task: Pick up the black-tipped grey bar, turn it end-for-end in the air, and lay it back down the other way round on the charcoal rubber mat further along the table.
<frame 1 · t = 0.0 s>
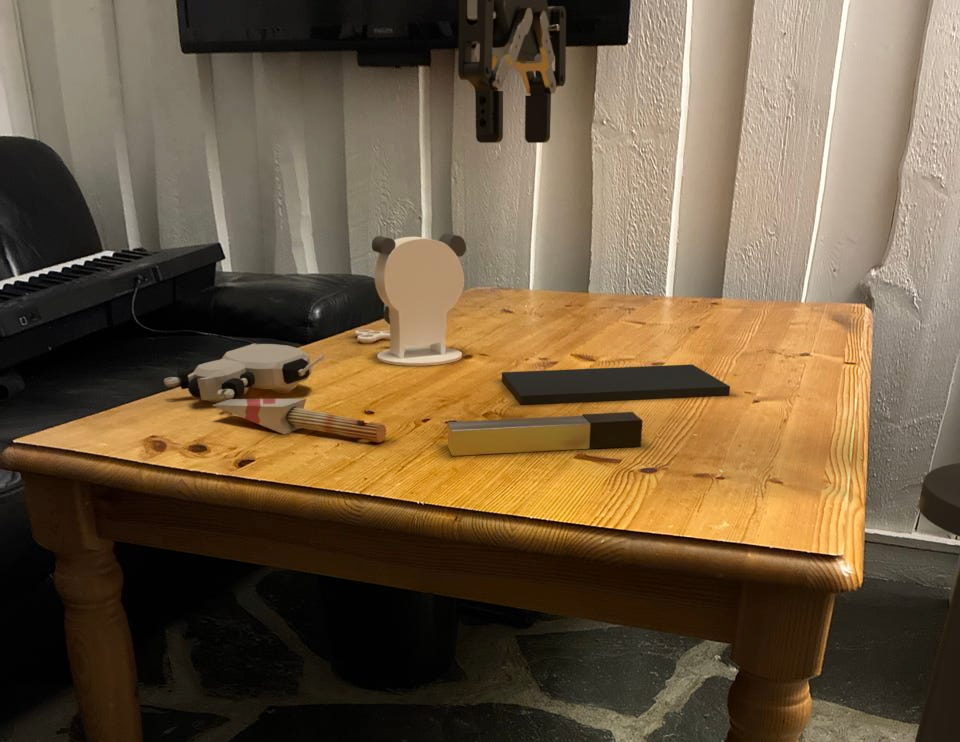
hand: (514, 142, 81), 25 cm above the table, tool pointing down, fingers open, 8 cm apart
robot toy: (247, 397, 107), on the table
fidget spinner: (378, 339, 137), on the table
panda figurine: (422, 358, 126), on the table
black-tipped grey bar: (544, 446, 89), on the table
mat: (611, 387, 109), on the table
paintbrush: (298, 432, 94), on the table
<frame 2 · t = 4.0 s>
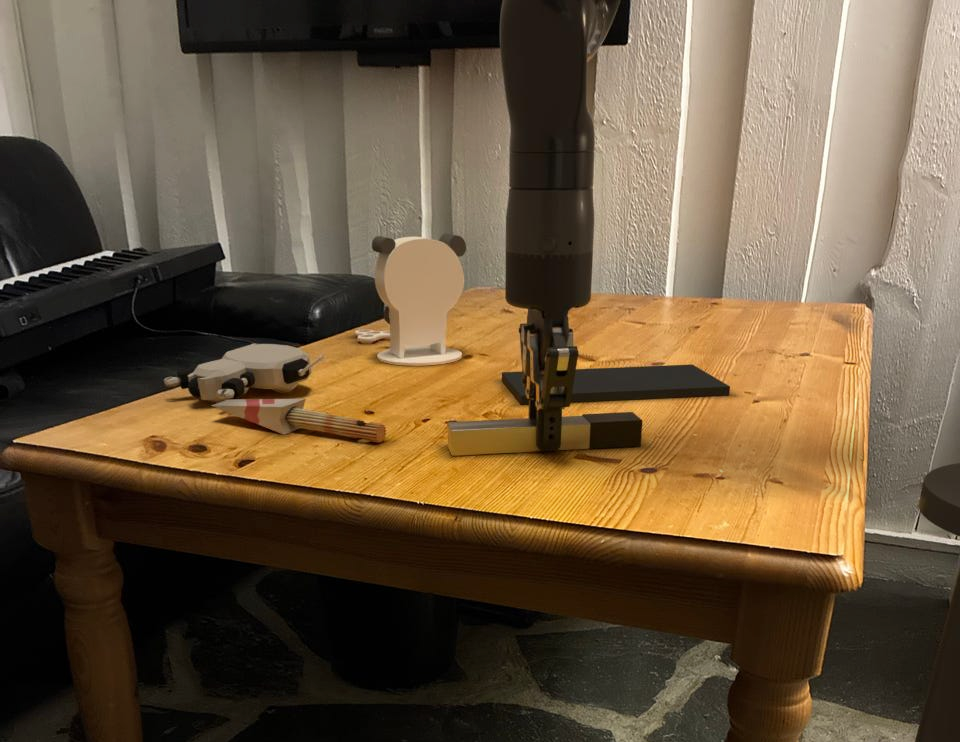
hand: (544, 442, 88), 0 cm above the table, tool pointing down, fingers closed on black-tipped grey bar, 3 cm apart
black-tipped grey bar: (544, 446, 89), on the table, touching gripper
everything else where it was.
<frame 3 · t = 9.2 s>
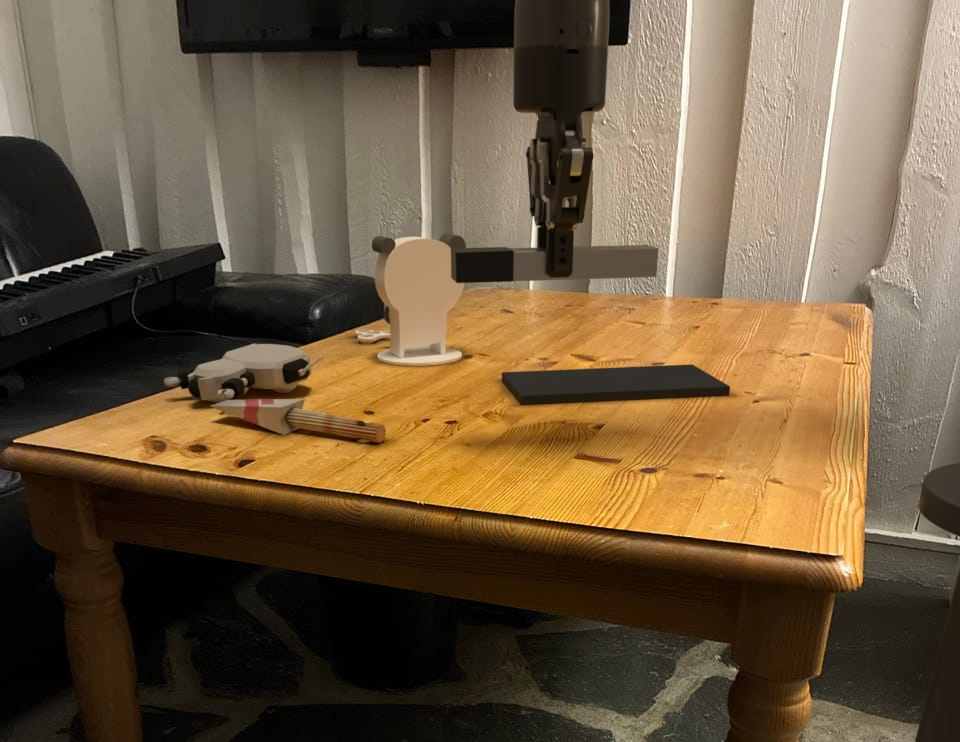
hand: (554, 273, 83), 15 cm above the table, tool pointing down, fingers closed on black-tipped grey bar, 3 cm apart
black-tipped grey bar: (554, 277, 83), point 15 cm above the table, touching gripper
everything else where it was.
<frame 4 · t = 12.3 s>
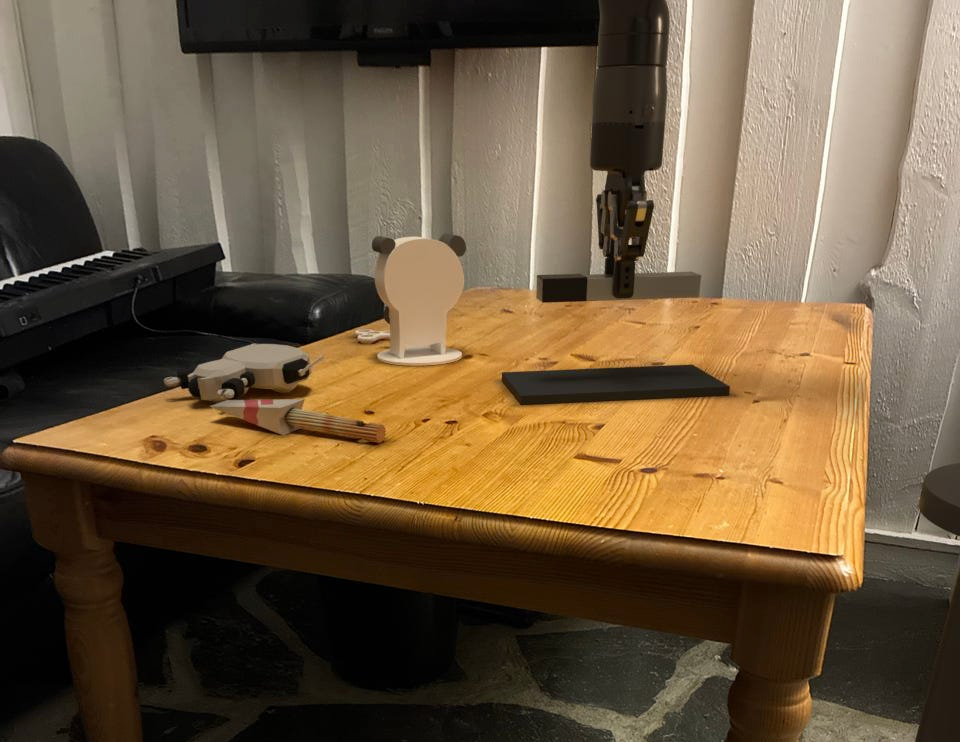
hand: (618, 294, 105), 10 cm above the table, tool pointing down, fingers closed on black-tipped grey bar, 3 cm apart
black-tipped grey bar: (617, 298, 105), point 10 cm above the table, touching gripper
everything else where it was.
when the fingers open (1 cm above the table, at t = 14.6 s): black-tipped grey bar stays where it is, resting on mat.
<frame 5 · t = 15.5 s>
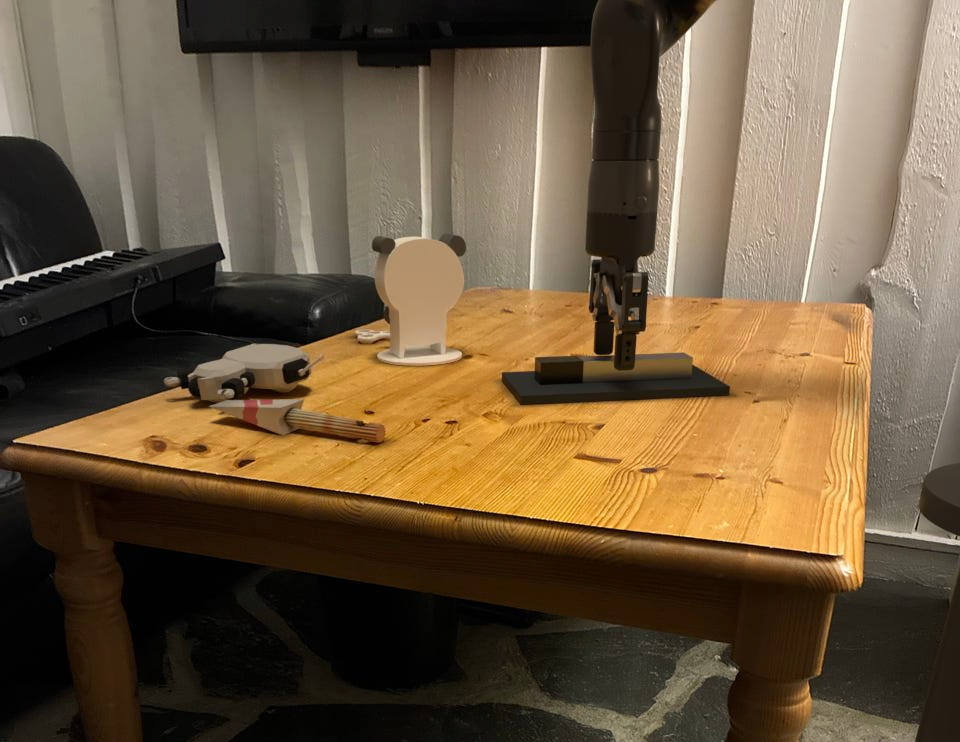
hand: (613, 361, 108), 3 cm above the table, tool pointing down, fingers open, 8 cm apart
black-tipped grey bar: (612, 378, 109), point 1 cm above the table, touching mat
everything else where it was.
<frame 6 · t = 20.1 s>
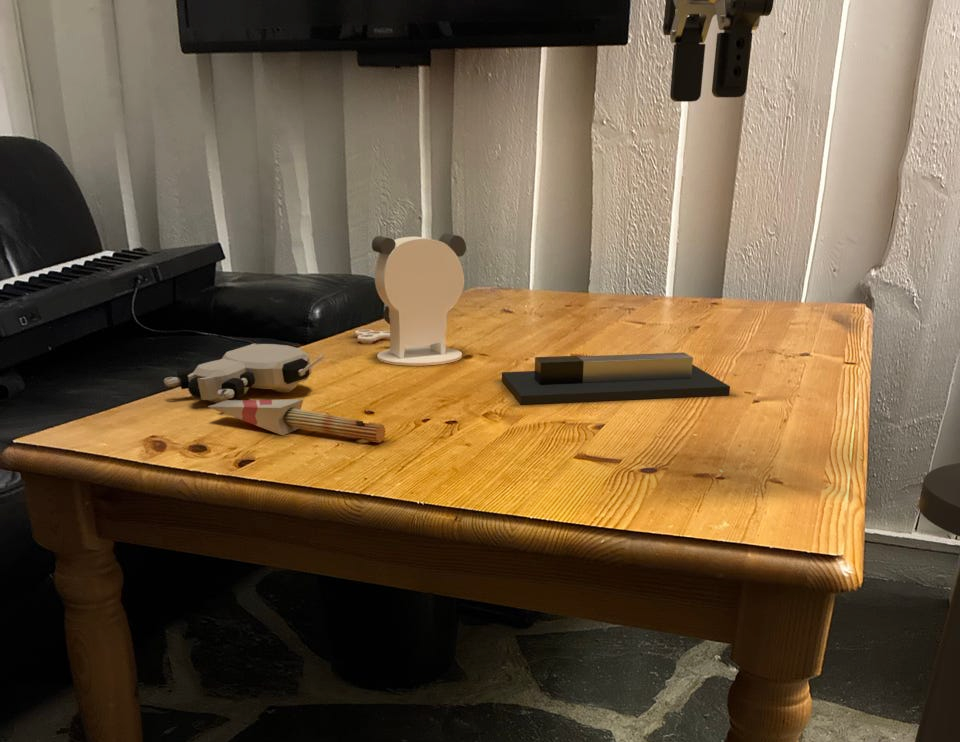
hand: (705, 99, 68), 28 cm above the table, tool pointing down, fingers open, 8 cm apart
nothing on the table moved.
at the end: black-tipped grey bar inside the target area on the mat (0.1 cm from its centre), point 1.0 cm above the mat's base; the gripper is holding nothing; black-tipped grey bar moved 25.7 cm from its start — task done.
